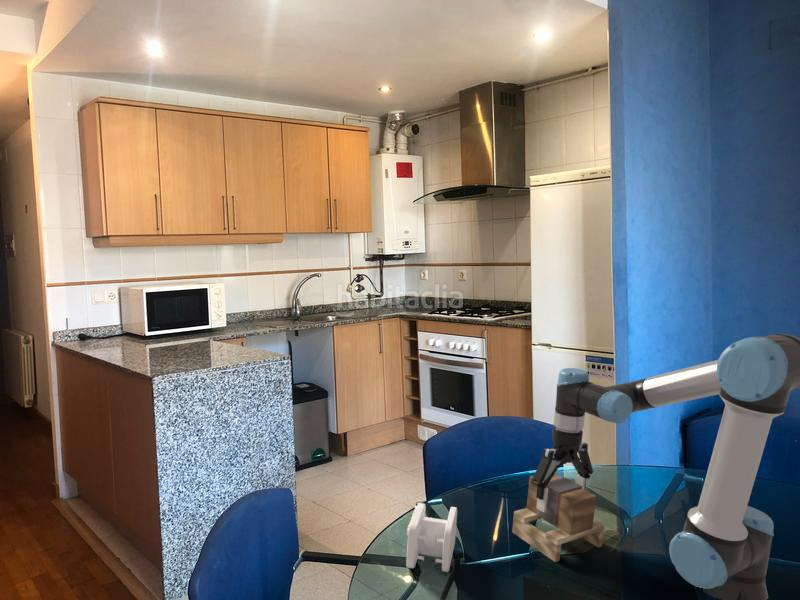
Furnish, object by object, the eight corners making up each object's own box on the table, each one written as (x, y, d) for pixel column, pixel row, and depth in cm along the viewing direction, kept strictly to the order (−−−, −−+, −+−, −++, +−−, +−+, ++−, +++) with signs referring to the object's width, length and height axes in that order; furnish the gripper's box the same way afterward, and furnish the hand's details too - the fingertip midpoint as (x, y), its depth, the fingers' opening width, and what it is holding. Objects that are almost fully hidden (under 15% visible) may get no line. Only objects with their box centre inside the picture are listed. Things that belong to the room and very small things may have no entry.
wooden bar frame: (601, 546, 169) (604, 524, 168) (555, 562, 160) (557, 539, 159) (557, 518, 182) (559, 499, 181) (512, 532, 173) (514, 511, 172)
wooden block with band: (593, 528, 166) (596, 494, 164) (569, 535, 161) (573, 500, 160) (548, 502, 179) (551, 470, 178) (526, 508, 175) (529, 475, 173)
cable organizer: (447, 580, 150) (451, 533, 148) (403, 572, 152) (406, 526, 150) (454, 547, 164) (458, 504, 162) (414, 540, 166) (417, 498, 164)
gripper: (590, 417, 176) (582, 490, 179) (522, 429, 163) (514, 508, 166) (612, 426, 170) (603, 501, 173) (543, 440, 157) (535, 521, 160)
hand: (560, 504), depth 170 cm, fingers open, 13 cm apart
